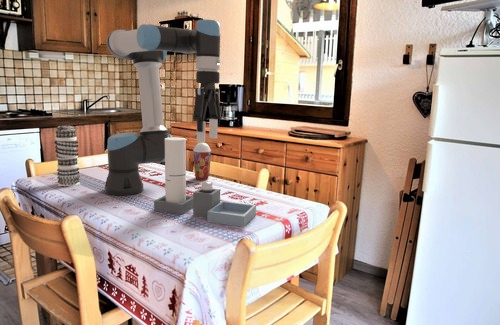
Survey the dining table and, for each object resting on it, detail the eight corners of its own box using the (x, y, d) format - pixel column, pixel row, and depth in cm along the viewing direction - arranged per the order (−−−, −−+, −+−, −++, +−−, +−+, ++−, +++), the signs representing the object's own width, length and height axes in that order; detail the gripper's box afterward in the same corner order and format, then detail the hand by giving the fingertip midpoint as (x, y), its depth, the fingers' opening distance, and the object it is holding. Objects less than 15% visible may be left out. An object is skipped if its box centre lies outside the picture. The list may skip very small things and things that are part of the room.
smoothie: (213, 177, 186) (214, 136, 182) (206, 181, 178) (206, 138, 174) (198, 176, 188) (198, 135, 184) (189, 179, 181) (189, 137, 177)
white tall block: (181, 211, 135) (181, 140, 130) (162, 210, 136) (161, 139, 131) (188, 205, 142) (188, 138, 137) (170, 204, 143) (169, 136, 138)
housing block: (193, 214, 132) (193, 192, 131) (201, 209, 139) (201, 187, 137) (212, 217, 130) (212, 194, 128) (219, 211, 137) (220, 189, 135)
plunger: (199, 194, 132) (199, 182, 131) (204, 191, 135) (204, 180, 134) (209, 195, 131) (209, 184, 130) (213, 192, 134) (213, 181, 133)
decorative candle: (56, 188, 160) (52, 127, 155) (57, 182, 168) (53, 125, 163) (80, 186, 164) (77, 127, 159) (80, 181, 172) (77, 124, 167)
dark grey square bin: (154, 210, 135) (153, 200, 135) (169, 202, 146) (169, 193, 145) (182, 214, 132) (182, 204, 132) (196, 205, 142) (196, 196, 142)
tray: (207, 221, 126) (207, 211, 125) (221, 210, 138) (222, 200, 137) (244, 227, 122) (244, 216, 122) (255, 214, 134) (256, 205, 133)
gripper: (204, 69, 114) (204, 145, 118) (230, 72, 134) (229, 136, 139) (181, 69, 116) (181, 143, 120) (210, 72, 136) (210, 135, 141)
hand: (207, 139), depth 129 cm, fingers open, 9 cm apart
